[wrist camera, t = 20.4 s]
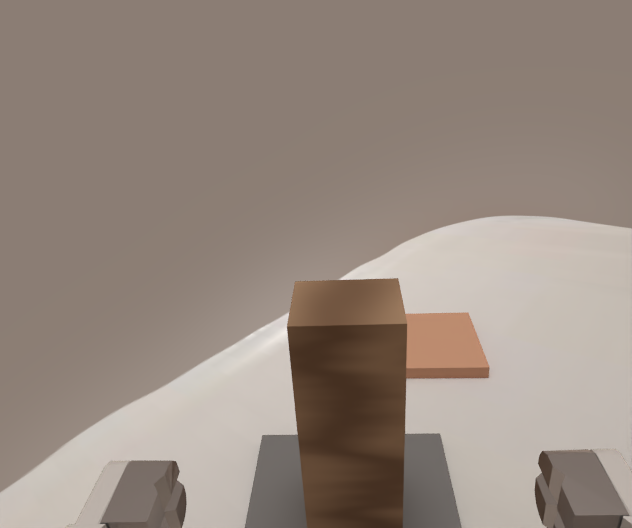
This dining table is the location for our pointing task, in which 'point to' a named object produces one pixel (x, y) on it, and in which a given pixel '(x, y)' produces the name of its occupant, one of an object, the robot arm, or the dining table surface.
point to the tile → (443, 347)
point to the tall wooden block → (350, 400)
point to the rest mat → (288, 497)
